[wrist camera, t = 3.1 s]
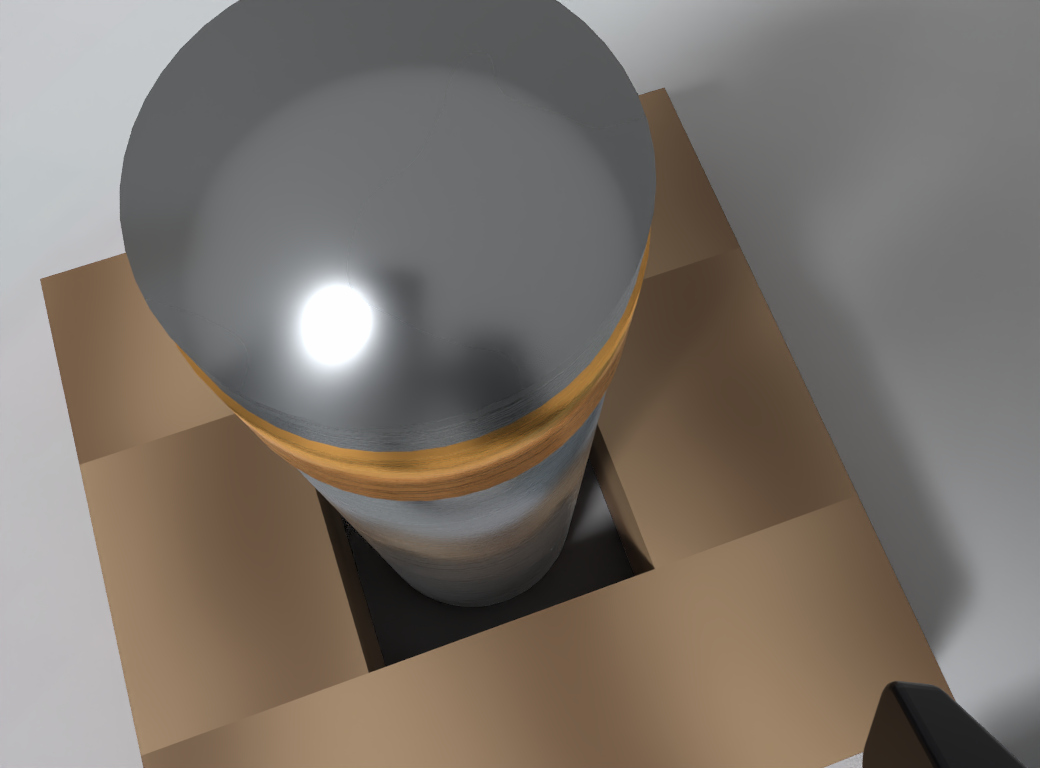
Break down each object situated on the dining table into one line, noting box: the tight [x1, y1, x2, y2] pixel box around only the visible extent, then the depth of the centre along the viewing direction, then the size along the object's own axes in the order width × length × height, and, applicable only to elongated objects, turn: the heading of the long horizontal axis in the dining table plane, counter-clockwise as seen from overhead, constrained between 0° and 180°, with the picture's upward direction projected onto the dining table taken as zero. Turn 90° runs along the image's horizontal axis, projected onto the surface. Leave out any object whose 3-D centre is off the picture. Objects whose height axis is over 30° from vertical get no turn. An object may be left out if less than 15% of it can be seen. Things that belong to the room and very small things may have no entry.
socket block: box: [40, 88, 955, 768], centre depth 18 cm, size 13×13×2 cm
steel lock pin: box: [120, 0, 656, 607], centre depth 13 cm, size 4×4×13 cm
